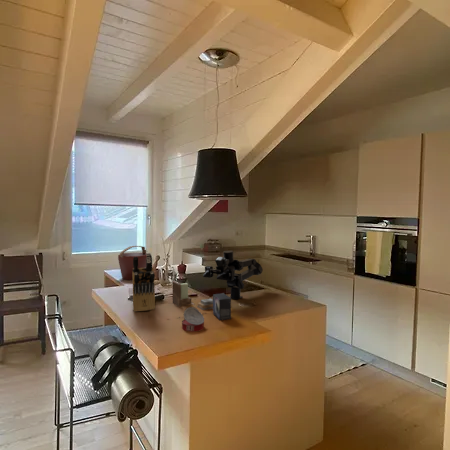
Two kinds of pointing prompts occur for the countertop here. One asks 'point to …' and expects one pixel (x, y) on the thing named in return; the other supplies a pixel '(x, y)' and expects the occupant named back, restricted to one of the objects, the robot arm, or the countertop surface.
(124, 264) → the bucket
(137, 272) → the knife block
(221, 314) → the small box
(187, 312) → the canned food
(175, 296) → the walnut rack
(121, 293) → the countertop surface
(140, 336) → the countertop surface
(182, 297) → the green board
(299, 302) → the countertop surface
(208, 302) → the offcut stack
